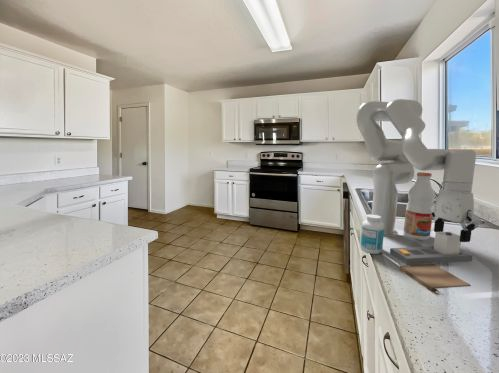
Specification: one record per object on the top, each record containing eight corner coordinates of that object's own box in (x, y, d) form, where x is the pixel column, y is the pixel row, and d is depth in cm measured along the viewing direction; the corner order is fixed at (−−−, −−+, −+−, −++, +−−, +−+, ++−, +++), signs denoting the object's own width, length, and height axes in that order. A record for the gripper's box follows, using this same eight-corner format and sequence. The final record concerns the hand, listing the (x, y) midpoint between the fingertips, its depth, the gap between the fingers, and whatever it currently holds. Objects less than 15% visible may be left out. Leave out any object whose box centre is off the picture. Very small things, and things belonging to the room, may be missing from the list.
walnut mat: (399, 269, 79) (400, 265, 79) (433, 267, 80) (434, 263, 80) (430, 291, 67) (431, 287, 67) (469, 288, 68) (470, 284, 68)
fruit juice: (410, 232, 111) (418, 171, 107) (433, 239, 103) (443, 173, 98) (398, 235, 107) (405, 172, 102) (421, 243, 99) (430, 174, 94)
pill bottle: (375, 246, 96) (378, 213, 94) (386, 254, 89) (390, 219, 86) (356, 246, 96) (359, 213, 94) (365, 255, 89) (369, 219, 86)
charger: (432, 253, 88) (435, 230, 86) (446, 252, 88) (450, 230, 87) (443, 259, 83) (447, 235, 82) (458, 258, 84) (462, 234, 82)
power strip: (389, 256, 88) (390, 246, 87) (449, 253, 91) (451, 243, 90) (405, 267, 80) (407, 256, 80) (471, 263, 83) (473, 253, 82)
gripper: (425, 183, 89) (420, 228, 92) (472, 191, 72) (465, 246, 75) (443, 183, 90) (438, 228, 93) (495, 191, 73) (487, 245, 76)
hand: (450, 236), depth 84 cm, fingers open, 9 cm apart
